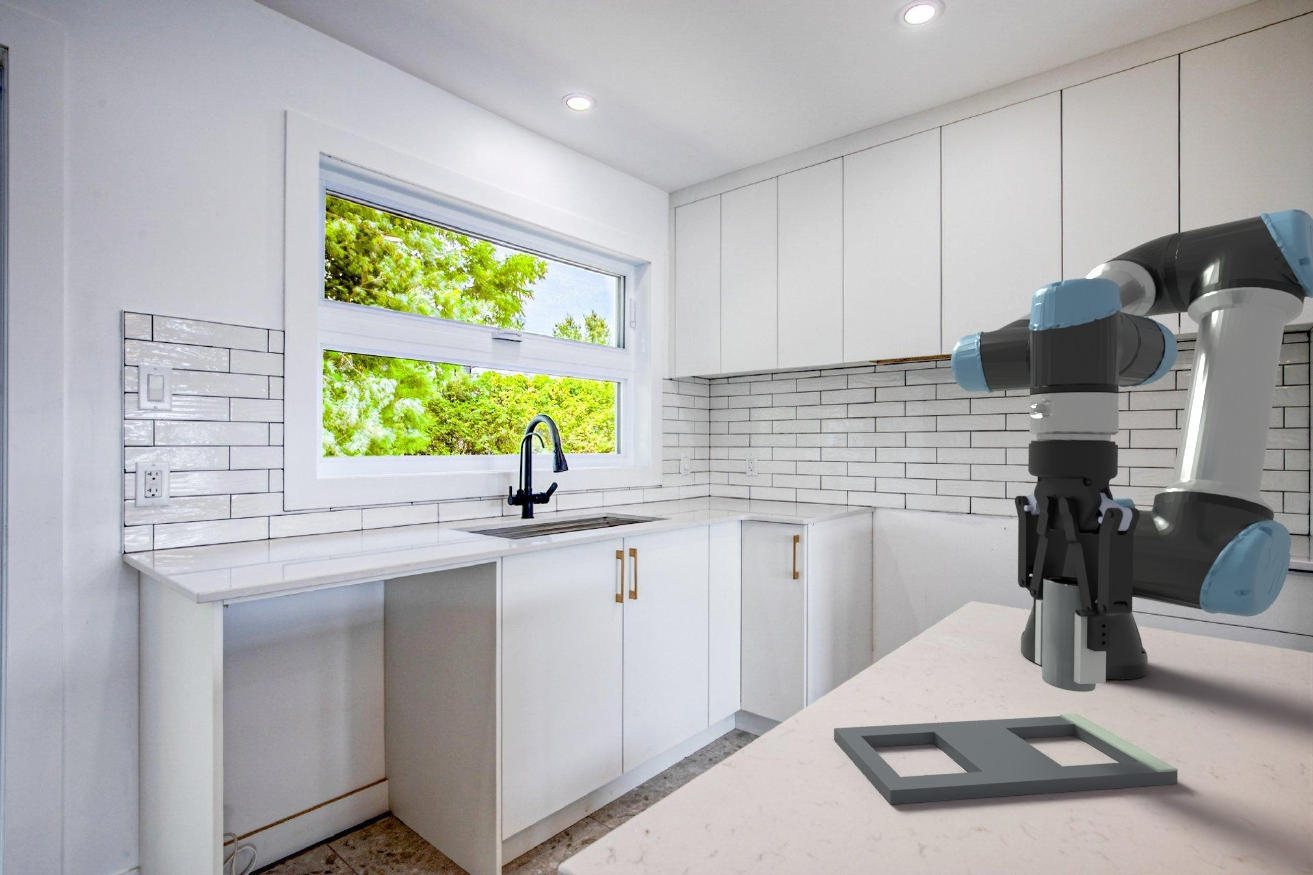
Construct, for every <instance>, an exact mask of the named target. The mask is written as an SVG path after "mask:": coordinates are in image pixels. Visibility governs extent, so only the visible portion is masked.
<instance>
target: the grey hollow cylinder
mask: <svg viewBox="0 0 1313 875" xmlns="http://www.w3.org/2000/svg"><path fill="white" fill-rule="evenodd" d="M1096 602H1097V600H1096V601H1095V603H1096ZM1075 610H1082V605H1081V599H1080V593H1079V586H1078V580H1077V578H1076V577H1068V576H1047V577H1045V578H1044V581H1043V644H1042V665H1041V666H1042V667H1041V676H1042V680H1043V681H1044V683H1046V684H1048V686H1049V685H1050V686H1052V687H1055V688H1057V689H1061V690H1065V691H1069V692H1071V691H1072V692H1077V693H1078V692H1081V693H1083V692H1084V693H1086V692H1087V693H1088V692H1092V691H1094V690H1095V689H1096V688H1097V687H1096V685H1097V683H1095V684H1079V683H1077V682H1075V681H1074V637H1075V613H1076V611H1075Z"/></svg>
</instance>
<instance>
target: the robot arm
mask: <svg viewBox="0 0 1313 875" xmlns="http://www.w3.org/2000/svg"><path fill="white" fill-rule="evenodd" d="M1305 298H1309V299H1311V298H1313V217H1312V216H1311V215H1310V214H1309V213H1308V212H1306V211H1305V210H1302V209H1296V208H1295V209H1286V210H1282V211H1276V212H1271V213H1270V212H1269V213H1267V212H1262V213H1260V215H1258V216H1253V217H1247V218H1243V219H1239V220H1233V221H1230V222H1229V221H1228V222H1225V223H1220V224H1215V225H1209V226H1204V227H1200V228H1195V229H1190V230H1187V231H1181V232H1173V233H1170V234H1166V235H1163V236H1161V237H1157V238H1155V239H1151V240H1149V241H1146V242H1144V243H1142V244H1139V245H1138V246H1135V247H1133V248H1131V249H1129V250H1127V251H1125V252H1123V253H1121V254H1119V255H1117V256H1116V257H1115V256H1114V257H1113V258H1111V259H1109V260H1108V261H1106V262H1104V263H1102V264H1100V265H1099V266H1097V267H1096V268H1094V269H1093V270H1091V271H1090V273H1088V275H1087V276H1086V277H1085V278H1084V277H1083V278H1072V279H1066V280H1060V281H1059V280H1058V281H1054V282H1051V283H1048V284H1046V285H1043V286H1041V287H1039V288H1038V289H1037V290H1036V291H1035V292H1034V293H1033V295H1032V298H1031V309H1030V312H1028V313H1026V314H1024V315H1023V316H1021V317H1019V318H1018V319H1016V320H1014V321H1012V322H1010V323H1008V324H1006V325H1004V326H1002V327H1000V328H998V329H996V330H993V331H979V332H977V333H974V334H968V335H965V336H963V337H961V338H960V339H958V340H957V342H956V343H955V344H954V347H953V348H952V352H951V357H950V358H951V359H950V366H951V369H952V376H953V378H954V380H955V382H956V383H957V385H958V386H959V387H960V388H961V389H963V390H965V391H967V392H975V393H976V392H987V393H989V394H991V393H994V392H1005V391H1006V392H1008V391H1009V392H1010V391H1021V390H1029V397H1030V398H1029V433H1031V435H1035V436H1036V439H1035V440H1033V439H1032V440H1030V443H1028V461H1027V462H1028V464H1027V466H1028V468H1027V470H1028V473H1029V474H1030V475H1031V476H1032V477H1033V476H1034V477H1036V478H1037V481H1036V485H1035V487H1034V489H1033V493H1031V494H1028V495H1016V496H1015V499H1014V504H1015V505H1014V506H1015V508H1016V513H1017V517H1018V518H1017V520H1018V527H1017V528H1018V531H1017V532H1018V533H1017V584H1018V586H1019V587H1020V588H1022V589H1023V588H1024V589H1027V591H1029V595H1030V596H1031V598H1033V603H1032V604H1033V605H1032V608H1031V610H1030V612H1029V613H1030V614H1029V616H1028V619H1027V622H1026V624H1025V628H1024V631H1023V632H1022V633H1021V636H1020V653H1021V654H1022V656H1024V657H1025V658H1026V659H1028V660H1029V661H1031V662H1033V663H1035V664H1037V665H1039V666H1042V644H1043V581H1044V578H1045V577H1047V576H1068V577H1076V578H1077V580H1078V586H1079V593H1080V599H1081V605H1082V610H1075V611H1076V613H1075V637H1074V681H1075V682H1077V683H1079V684H1095V683H1096V684H1106V682H1107V681H1106V680H1132V679H1133V680H1134V679H1139V678H1142V677H1145V676H1147V674H1148V672H1149V669H1148V668H1149V661H1148V660H1149V659H1148V658H1149V657H1148V653H1147V650H1146V649H1145V648H1144V647H1143V642H1142V637H1141V635H1140V631H1139V629H1138V625H1137V623H1136V620H1135V617H1134V614H1133V598H1138V599H1142V600H1148V601H1153V602H1158V603H1162V604H1168V605H1174V606H1180V607H1186V608H1191V609H1196V610H1202V611H1204V612H1205V613H1209V614H1211V615H1212V614H1224V615H1231V616H1237V617H1246V618H1247V617H1255V616H1258V615H1260V614H1262V613H1264V612H1266V611H1267V610H1268V609H1269V608H1271V605H1273V604H1274V603H1275V601H1276V600H1277V599H1278V597H1279V596H1280V594H1281V591H1282V589H1283V587H1284V584H1285V581H1286V580H1287V575H1288V572H1289V569H1290V568H1289V567H1290V562H1291V557H1292V554H1291V553H1290V551H1291V549H1292V548H1291V547H1292V542H1291V534H1290V532H1289V529H1288V528H1287V527H1286V526H1285V525H1284V524H1282V523H1280V522H1278V521H1276V520H1274V518H1275V510H1274V509H1273V507H1272V506H1270V504H1268V502H1266V501H1265V500H1264V499H1263V498H1262V497H1261V486H1262V482H1263V481H1262V479H1263V473H1264V465H1265V460H1266V459H1265V458H1266V452H1267V447H1268V439H1269V433H1270V432H1269V431H1270V424H1271V417H1272V413H1273V406H1274V405H1273V404H1274V397H1275V391H1276V386H1277V385H1276V384H1277V379H1278V378H1277V377H1278V372H1279V365H1280V356H1281V352H1282V342H1283V338H1284V329H1285V326H1286V325H1288V324H1289V323H1292V322H1293V321H1295V320H1297V319H1298V318H1299V317H1300V316H1301V314H1302V312H1303V309H1304V303H1305ZM1179 313H1180V314H1181V313H1187V316H1188V317H1189V318H1190V320H1192V322H1195V324H1197V325H1198V328H1197V333H1196V341H1195V347H1194V353H1193V357H1192V358H1193V359H1192V364H1191V370H1190V375H1189V381H1188V388H1187V393H1186V399H1185V405H1184V410H1183V416H1182V417H1183V418H1182V421H1181V428H1180V432H1179V433H1180V434H1179V439H1178V440H1179V441H1178V445H1177V451H1176V457H1175V462H1174V468H1173V475H1172V481H1171V484H1170V485H1168V486H1167V487H1165V488H1163V489H1161V490H1159V491H1157V492H1156V493H1155V494H1154V498H1153V504H1152V507H1151V508H1152V509H1151V510H1143V509H1141V510H1140V509H1138V508H1136V504H1135V503H1134V500H1133V499H1132V498H1130V497H1127V498H1126V497H1117V498H1116V497H1115V498H1114V496H1113V493H1112V491H1111V488H1110V481H1111V480H1112V479H1115V478H1116V477H1117V476H1118V473H1119V472H1118V470H1119V469H1118V468H1119V445H1118V444H1116V441H1112V439H1111V438H1112V436H1116V435H1117V434H1119V432H1120V429H1119V428H1120V427H1119V426H1120V423H1119V422H1120V418H1119V416H1120V415H1119V414H1120V412H1119V410H1120V409H1119V407H1120V406H1119V405H1120V404H1119V398H1120V397H1119V396H1120V394H1119V391H1120V390H1119V388H1127V387H1128V388H1129V387H1141V386H1147V385H1151V384H1153V383H1154V382H1157V381H1158V380H1160V379H1162V378H1163V377H1164V376H1166V374H1168V373H1169V372H1170V371H1171V369H1172V368H1173V366H1174V365H1175V363H1176V360H1177V357H1178V352H1179V348H1178V343H1177V339H1176V337H1175V335H1174V333H1173V332H1172V331H1171V329H1170V328H1169V327H1167V326H1166V325H1165V324H1162V323H1160V322H1158V321H1156V320H1154V319H1153V318H1150V317H1154V316H1161V315H1171V314H1179ZM1030 575H1031V576H1030ZM1096 600H1097V602H1096V603H1095V601H1096Z"/></svg>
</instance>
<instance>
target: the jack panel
mask: <svg viewBox="0 0 1313 875" xmlns="http://www.w3.org/2000/svg"><path fill="white" fill-rule="evenodd" d="M1066 736H1067V737H1069V736H1074V737H1076V738H1078V739H1080V740H1081V741H1083V742H1084V743H1087V744H1088V745H1089V746H1091V747H1093V748H1095V749H1096V750H1098V751H1100V752H1101V753H1102V754H1105V755H1107V756H1108V757H1110V758H1111V759H1113V760H1115V761H1117V762H1108V763H1093V764H1080V765H1079V764H1075V765H1062V764H1060V763H1058V762H1057V761H1055V760H1054V759H1052V758H1051V757H1050V756H1048V755H1046V754H1045V753H1043V752H1042V751H1040V750H1039V749H1038V748H1036V747H1034V746H1033V745H1031V744H1030V743H1028V742H1027V741H1026V740H1024V739H1031V738H1032V739H1034V738H1046V737H1047V738H1050V737H1051V738H1052V737H1066ZM833 740H834V742H835V743H836V744H837V745H838V746H839V747H840V749H842V751H843V752H844V753H845V754H846V755H847V756H848V758H849V759H850V760H851V761H852V762H853V764H854V765H855V766H856V767H857V768H858V769H859V770H860V772H861V773H862V774H863V775H864V776H865V777H866V778H867V780H868V781H869V782H870V783H871V784H872V785H873V787H875V789H876V790H877V791H878V792H879V793H880V795H882V796H883V798H884V799H885V800H886V801H887V802H888V804H889V805H897V804H898V805H899V804H900V805H901V804H913V803H925V802H926V803H927V802H939V801H942V802H943V801H954V800H969V799H970V800H971V799H983V798H997V797H1010V796H1013V797H1014V796H1025V795H1026V796H1027V795H1038V794H1039V795H1040V794H1053V793H1069V792H1080V791H1082V792H1083V791H1084V792H1085V791H1094V790H1107V789H1109V790H1110V789H1124V788H1136V787H1137V788H1138V787H1151V786H1152V787H1153V786H1154V787H1155V786H1166V785H1168V786H1169V785H1177V784H1178V774H1179V773H1178V772H1179V771H1178V770H1179V768H1177V767H1176V766H1174V765H1172V764H1170V763H1168V762H1167V761H1164V760H1163V759H1161V758H1159V757H1157V756H1155V755H1154V754H1152V753H1149V752H1148V751H1146V750H1144V749H1142V748H1141V747H1139V746H1138V745H1135V744H1133V743H1131V742H1130V741H1128V740H1126V739H1125V738H1122V737H1121V736H1119V735H1118V734H1117V735H1116V734H1115V733H1114V732H1111V731H1110V730H1108V729H1106V728H1104V727H1103V726H1100V725H1098V724H1097V723H1095V722H1094V721H1091V720H1090V719H1088V718H1086V717H1084V716H1082V715H1081V714H1078V713H1060V714H1059V715H1056V716H1055V715H1054V716H1037V717H1018V718H1017V717H1016V718H998V719H996V718H995V719H981V720H980V719H979V720H964V721H961V720H960V721H946V722H945V721H943V722H925V723H922V722H921V723H909V724H907V723H905V724H903V723H902V724H889V725H887V724H886V725H885V724H884V725H869V726H852V727H834V728H833ZM932 744H933V745H935V746H936V747H938V748H939V750H941V751H943V752H944V753H945V755H947V756H949V758H950V759H952V761H954V762H955V763H956V764H958V765H959V766H960V767H961V768H963V769H964V771H966V772H957V773H955V772H954V773H939V774H926V775H925V774H923V775H911V776H909V775H908V776H900V775H899V774H898V773H897V772H896V770H894V768H893V767H892V766H890V765H889V763H888V762H886V760H885V759H884V758H883V757H882V756H881V755H880V754H879V753H878V752H877V751H876V750H875V749H874V748H878V747H879V748H880V747H882V748H883V747H896V746H899V747H900V746H912V745H913V746H915V745H916V746H917V745H932Z"/></svg>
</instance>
